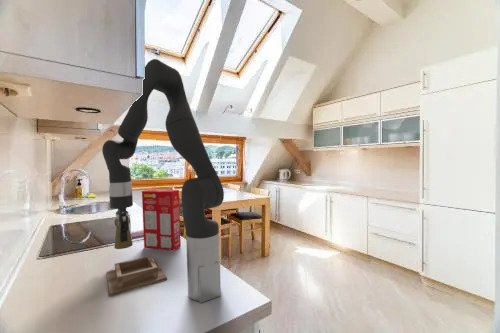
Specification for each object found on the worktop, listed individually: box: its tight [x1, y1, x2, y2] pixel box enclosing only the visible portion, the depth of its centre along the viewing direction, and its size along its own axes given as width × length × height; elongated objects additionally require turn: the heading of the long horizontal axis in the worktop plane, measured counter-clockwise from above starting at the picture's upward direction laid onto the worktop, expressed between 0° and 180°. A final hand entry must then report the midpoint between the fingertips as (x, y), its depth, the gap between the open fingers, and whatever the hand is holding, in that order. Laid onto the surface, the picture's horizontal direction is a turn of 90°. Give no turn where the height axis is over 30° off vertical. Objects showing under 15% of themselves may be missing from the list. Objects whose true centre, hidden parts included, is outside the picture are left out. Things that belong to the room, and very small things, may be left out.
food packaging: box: [141, 189, 182, 251], centre depth 107 cm, size 15×5×25 cm, turn 76°
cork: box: [113, 216, 133, 250], centre depth 91 cm, size 6×6×11 cm
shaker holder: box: [106, 255, 168, 297], centre depth 81 cm, size 16×16×4 cm
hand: (123, 240), depth 91 cm, fingers closed on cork, 4 cm apart
